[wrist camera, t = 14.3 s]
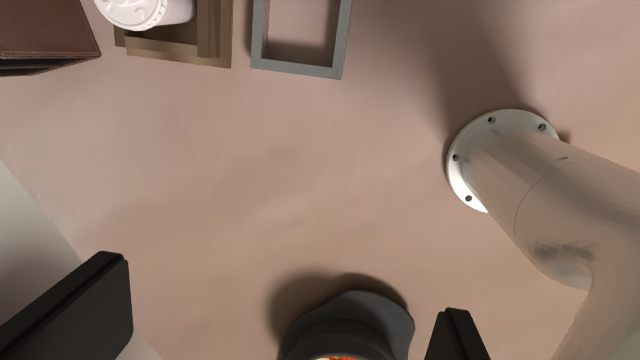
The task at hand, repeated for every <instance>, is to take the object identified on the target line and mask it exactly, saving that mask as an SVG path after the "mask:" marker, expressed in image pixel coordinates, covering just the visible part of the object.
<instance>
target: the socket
mask: <svg viewBox="0 0 640 360" xmlns="http://www.w3.org/2000/svg"><path fill="white" fill-rule="evenodd" d="M195 1H196V13H195V15H194V17H193V18H192V19H191V20H190V21H189V22H186V23H179V24H168V25H157V26H153V27H152V28H149V29H147V30H143V31H133V30H129V29H124V28H121V27H119V26H117V25H115V24H114V36H115V46H119V47H127V55H132V56H139V57H147V58H154V59H162V60H169V61H176V62H184V63H191V64H199V65H206V66H213V67H221V68H231V54H232V23H233V0H195Z"/></svg>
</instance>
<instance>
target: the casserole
mask: <svg viewBox="0 0 640 360" xmlns="http://www.w3.org/2000/svg"><path fill="white" fill-rule="evenodd" d="M414 332H415V324H414V320H413V318H412V317H411V315H410V314H409V312H407V311H406V310H405V309H404V308H403V307H402V306H401V305H400V304H398V303H397V302H395V301H394V300H392V299H391V298H389V297H387V296H384V295H382V294H379V293H377V292H372V291H368V290H362V289H352V290H348V291H343V292H342V293H340V294H339V295H337V296H336V297H334V298H333V299H332V300H330V301H329V302H328V303H326V304H325V305H323V306H321V307H318V308H316V309H314V310H312V311H310V312H308V313H305V314H303V315H302V316H301V317H299V318H298V319H297V320H295V321H294V323H293V324H292V325H291V326H290V327H289V328H288V330H287V332H286V334H285V336H284V339H283V343H282V360H408V350H409V346H410V343H411V341H412V338H413V335H414Z"/></svg>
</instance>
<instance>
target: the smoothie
mask: <svg viewBox="0 0 640 360" xmlns="http://www.w3.org/2000/svg"><path fill="white" fill-rule="evenodd" d="M94 2H95V4H96V6H97V7H98V9H99V10H100V12H101V13H102V14H103V15H104V17H105V18H107V19H108V20H109V21H110V22H112V23H113V24H115V25H117V26H119V27H121V28H124V29H129V30H133V31H143V30H147V29H149V28H152V27H153V26H157V25H168V24H179V23H186V22H189V21H190V20H191V19H192V18H193V17H194V15H195V13H196V1H195V0H94Z"/></svg>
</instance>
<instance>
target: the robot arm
mask: <svg viewBox="0 0 640 360" xmlns="http://www.w3.org/2000/svg"><path fill="white" fill-rule="evenodd" d="M490 117H491V120H490V121H488V119H489V118H490ZM539 125H540V127H539V128H538V126H539ZM454 154H456V157H454V158H453V157H452V156H453V155H454ZM446 176H447V179H448V182H449V185H450V187H451V188H452V190H453V192H454V193H455V194H456V196H457V197H458V198H459V199H460V200H461V201H462V202H463V203H464V204H466V205H468V206H469V207H471V208H473V209H475V210H478V211H481V212H486V213H489V214H490V215H491V216H492V217H493V219H494V220H495V221H496V222H497V223H498V224H499V226H500V227H501V228H502V229H503V230H504V232H505V233H506V234H507V235H508V236H509V237H510V239H511V240H512V241H513V242H514V243H515V244H516V246H517V247H518V248H519V249H520V250H521V251H522V253H523V254H524V255H525V256H526V257H527V258H528V259H529V260H530V261H531V263H532V264H533V265H534V266H535V267H536V268H537V269H538V270H540V271H541V272H542V273H543V274H545V275H546V276H548V277H549V278H551V279H553V280H555V281H557V282H559V283H561V284H564V285H566V286H569V287H573V288H576V289H581V290H586V291H589V292H588V295H587V297H586V299H585V301H584V302H583V304H582V306H581V307H580V309H579V311H578V312H577V314H576V316H575V318H574V322H573V324H572V326H571V327H570V329H569V331H568V332H567V334H566V335H565V337H564V339H563V340H562V342H561V344H560V345H559V347H558V348H557V350H556V352H555V353H554V355H553V357H552V358H551V360H640V173H639V172H636V171H634V170H631V169H629V168H626V167H624V166H621V165H619V164H617V163H614V162H612V161H609V160H607V159H604V158H602V157H599V156H597V155H595V154H592V153H590V152H587V151H585V150H582V149H580V148H577V147H575V146H573V145H570V144H568V143H565V142H563V141H560V139H559V137H558V135H557V133H556V131H555V130H554V129H553V127H552V126H551V125H550V124H549V123H548V122H547V121H546V120H544V119H543V118H542V117H540V116H538V115H536V114H534V113H532V112H528V111H525V110H520V109H512V108H511V109H499V110H495V111H490V112H488V113H485V114H483V115H481V116H479V117H477V118H475V119H474V120H472V121H471V122H469V123H468V124H467V125H466V126H465V127H464V128H463V129H461V131H460V132H459V133H458V134H457V136H456V137H455V138H454V140H453V142H452V144H451V146H450V148H449V151H448V154H447V157H446ZM467 195H468V197H466V196H467ZM132 334H133V318H132V305H131V293H130V281H129V268H128V262H127V260H125V259H124V257H123V255H122V254H119V253H113V252H107V251H99V252H98V253H96V254H95V255H93V256H92V257H91V258H90V259H88V260H87V261H86V262H84V263H83V264H82V265H80V266H79V267H78V268H77V269H75V270H74V271H73V272H71V273H70V274H69V275H67V276H66V277H65V278H64V279H62V280H61V281H59V282H58V283H57V284H55V285H54V286H53V287H51V288H50V289H49V290H48V291H46V292H45V293H44V294H42V295H41V296H40V297H38V298H37V299H36V300H34V301H33V302H32V303H30V304H29V305H28V306H27V307H25V308H24V309H23V310H21V311H20V312H19V313H17V314H16V315H15V316H13V317H12V318H11V319H9V320H8V321H7V322H6V323H4V324H3V325H2V326H0V360H115V359H116V358H117V356H118V355H119V354H120V353H121V351H122V350H123V349H124V348H125V346H126V345H127V344H128V342H129V341H130V339H131V337H132ZM424 360H491V359H490V357H489V355H488V352H487V350H486V348H485V346H484V344H483V341H482V339H481V337H480V335H479V332H478V330H477V328H476V326H475V323H474V321H473V319H472V317H471V314H470V313H469V311H467V310H462V309H456V308H449V307H448V308H446V309H445V311H444V312H442V311H440V312H439V313H438V315H437V319H436V322H435V325H434V329H433V332H432V335H431V339H430V342H429V345H428V349H427V352H426V355H425V359H424Z"/></svg>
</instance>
